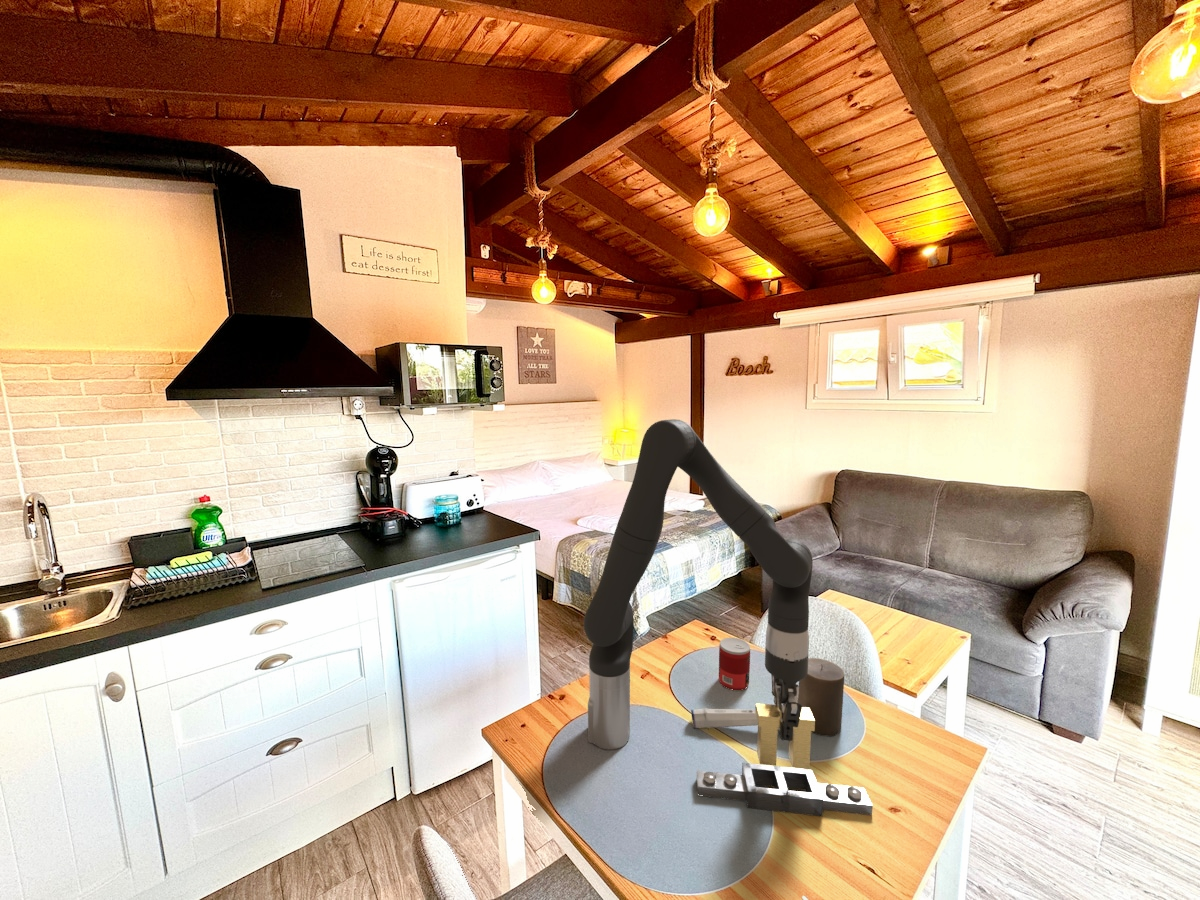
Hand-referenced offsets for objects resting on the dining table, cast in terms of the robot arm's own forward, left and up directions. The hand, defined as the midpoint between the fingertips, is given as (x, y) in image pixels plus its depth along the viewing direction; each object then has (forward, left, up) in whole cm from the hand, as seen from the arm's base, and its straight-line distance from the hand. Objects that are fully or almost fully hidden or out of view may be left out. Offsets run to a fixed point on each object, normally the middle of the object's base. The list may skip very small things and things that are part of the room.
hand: (783, 730), depth 91 cm
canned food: (-4, +36, -14) cm, 39 cm away
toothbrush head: (-4, +18, -14) cm, 23 cm away
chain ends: (0, 0, -14) cm, 14 cm away
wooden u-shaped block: (0, 0, -6) cm, 6 cm away
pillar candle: (+14, +23, -14) cm, 30 cm away
